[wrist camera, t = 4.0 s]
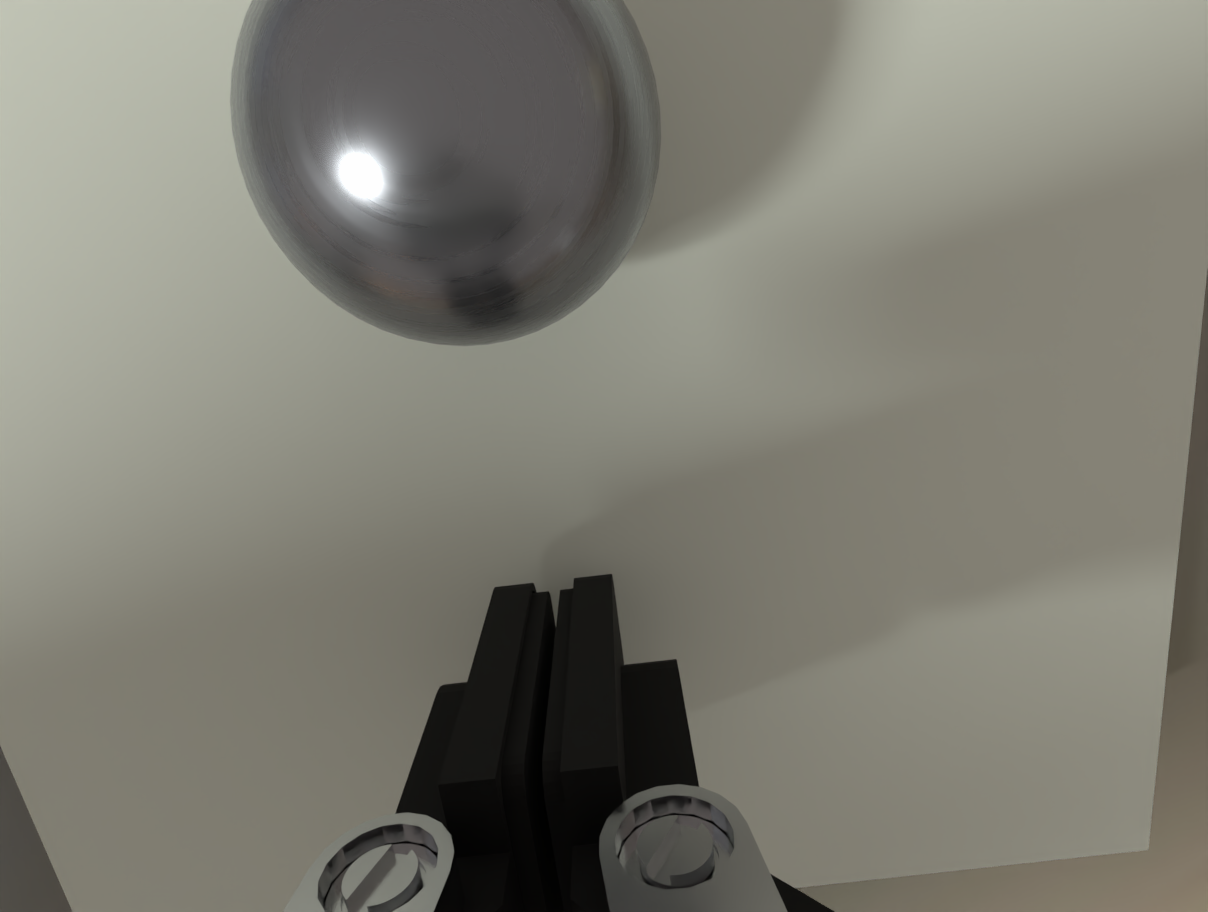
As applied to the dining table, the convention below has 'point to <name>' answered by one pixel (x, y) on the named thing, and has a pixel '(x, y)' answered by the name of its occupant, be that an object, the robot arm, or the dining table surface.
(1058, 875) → the dining table surface
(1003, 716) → the hole board
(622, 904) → the robot arm
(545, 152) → the steel ball
